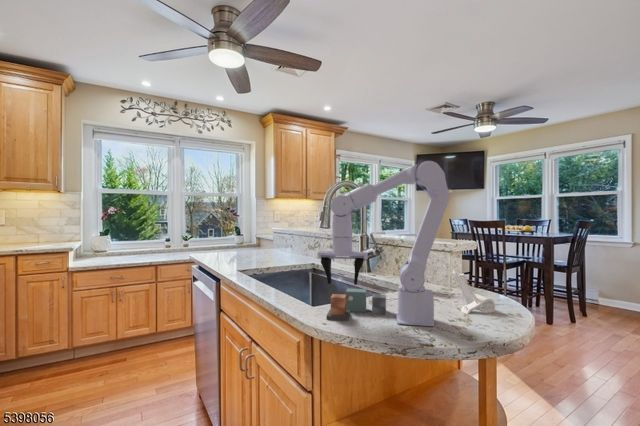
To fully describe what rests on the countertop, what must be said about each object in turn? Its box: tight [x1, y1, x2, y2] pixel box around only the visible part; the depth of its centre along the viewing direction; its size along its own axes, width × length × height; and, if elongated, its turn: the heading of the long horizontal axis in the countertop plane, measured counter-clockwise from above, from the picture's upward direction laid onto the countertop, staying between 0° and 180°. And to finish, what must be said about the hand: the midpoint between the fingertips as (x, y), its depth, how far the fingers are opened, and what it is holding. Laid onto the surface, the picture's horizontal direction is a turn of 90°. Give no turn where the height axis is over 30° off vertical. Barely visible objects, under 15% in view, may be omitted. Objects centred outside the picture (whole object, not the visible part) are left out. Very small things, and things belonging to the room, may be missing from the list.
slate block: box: [371, 293, 387, 316], centre depth 97 cm, size 4×4×5 cm
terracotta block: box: [330, 293, 346, 316], centre depth 93 cm, size 4×4×5 cm
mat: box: [326, 308, 351, 322], centre depth 93 cm, size 6×6×1 cm
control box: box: [345, 288, 367, 313], centre depth 99 cm, size 6×5×6 cm
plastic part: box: [451, 270, 496, 315], centre depth 99 cm, size 8×10×12 cm
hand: (342, 283), depth 94 cm, fingers open, 7 cm apart
